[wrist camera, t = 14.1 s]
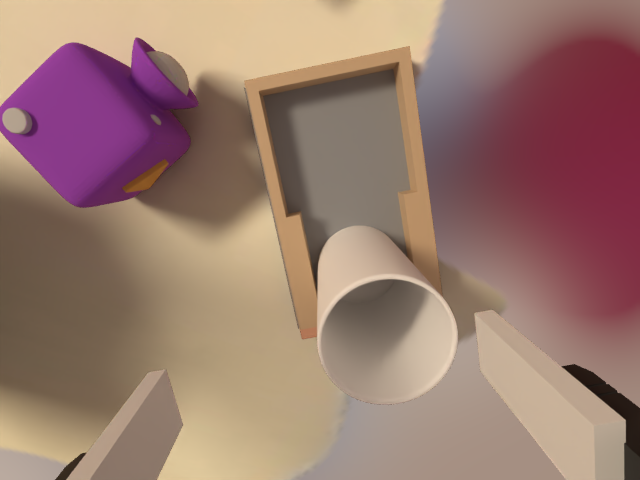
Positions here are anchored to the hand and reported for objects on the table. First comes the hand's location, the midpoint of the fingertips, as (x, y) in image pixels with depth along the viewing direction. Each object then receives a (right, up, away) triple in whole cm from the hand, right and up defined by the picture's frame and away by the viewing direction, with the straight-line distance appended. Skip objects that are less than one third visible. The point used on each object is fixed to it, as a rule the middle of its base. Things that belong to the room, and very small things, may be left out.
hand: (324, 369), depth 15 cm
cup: (+4, +3, +22) cm, 22 cm away
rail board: (+3, +9, +22) cm, 24 cm away
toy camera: (-17, +17, +20) cm, 31 cm away
